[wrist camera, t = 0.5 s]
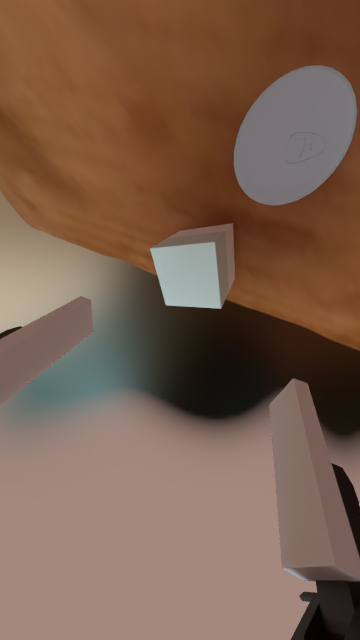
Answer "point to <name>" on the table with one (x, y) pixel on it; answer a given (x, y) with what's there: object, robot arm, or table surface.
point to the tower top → (193, 270)
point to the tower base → (229, 244)
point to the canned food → (295, 135)
